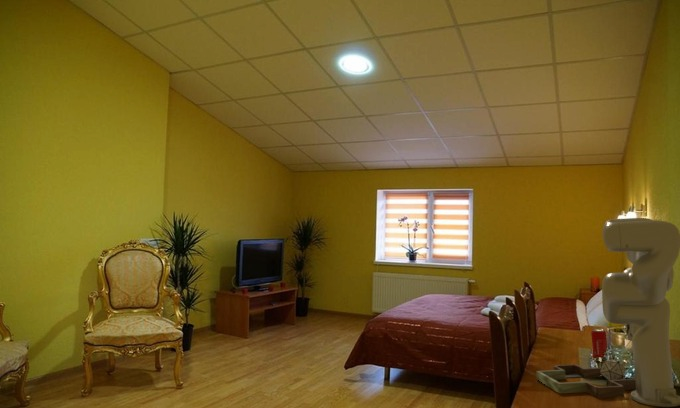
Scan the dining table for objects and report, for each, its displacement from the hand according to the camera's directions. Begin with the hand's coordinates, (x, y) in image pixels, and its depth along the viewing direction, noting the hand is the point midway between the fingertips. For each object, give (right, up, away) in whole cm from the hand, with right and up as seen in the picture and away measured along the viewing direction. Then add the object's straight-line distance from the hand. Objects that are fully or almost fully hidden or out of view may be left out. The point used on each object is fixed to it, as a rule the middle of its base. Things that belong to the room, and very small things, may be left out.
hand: (644, 357), depth 159 cm
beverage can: (-1, -10, +25) cm, 27 cm away
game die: (-12, -8, -2) cm, 15 cm away
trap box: (-20, -8, -3) cm, 22 cm away
